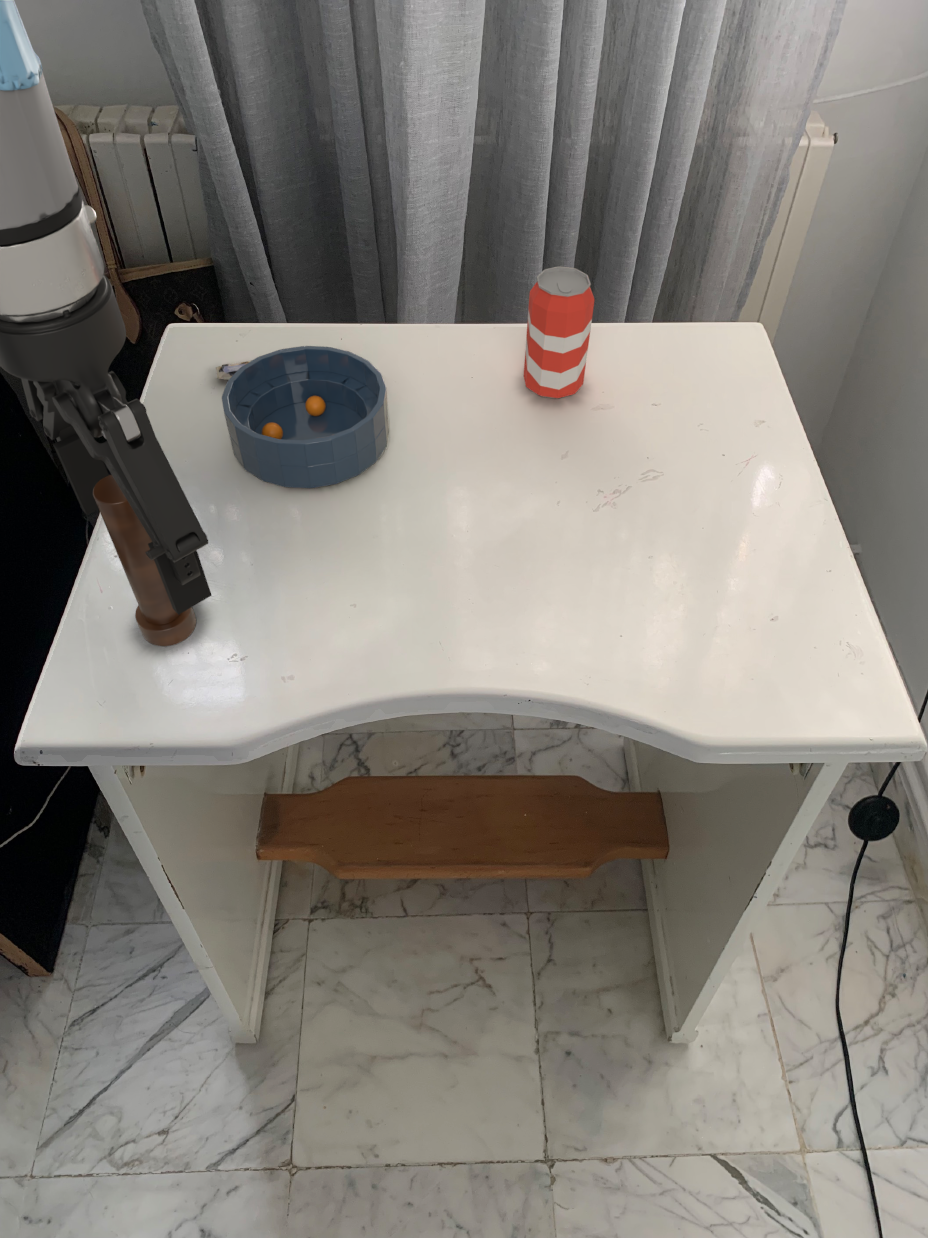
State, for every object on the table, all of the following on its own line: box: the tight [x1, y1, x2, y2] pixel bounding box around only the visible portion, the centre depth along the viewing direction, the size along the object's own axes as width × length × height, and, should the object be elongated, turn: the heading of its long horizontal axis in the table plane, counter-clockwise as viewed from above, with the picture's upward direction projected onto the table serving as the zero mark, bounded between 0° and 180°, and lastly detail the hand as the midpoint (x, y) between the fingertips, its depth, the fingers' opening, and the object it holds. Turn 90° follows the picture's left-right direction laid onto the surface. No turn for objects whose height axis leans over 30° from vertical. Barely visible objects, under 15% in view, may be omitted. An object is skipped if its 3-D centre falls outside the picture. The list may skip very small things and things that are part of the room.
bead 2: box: [305, 396, 326, 416], centre depth 89 cm, size 2×2×2 cm
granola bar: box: [215, 360, 251, 381], centre depth 95 cm, size 7×2×1 cm, turn 103°
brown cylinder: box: [93, 474, 197, 647], centre depth 67 cm, size 4×4×15 cm
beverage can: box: [523, 265, 595, 400], centre depth 90 cm, size 6×6×12 cm
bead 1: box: [262, 423, 283, 439], centre depth 86 cm, size 2×2×2 cm
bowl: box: [221, 345, 390, 489], centre depth 86 cm, size 15×15×6 cm
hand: (144, 551), depth 67 cm, fingers open, 13 cm apart
